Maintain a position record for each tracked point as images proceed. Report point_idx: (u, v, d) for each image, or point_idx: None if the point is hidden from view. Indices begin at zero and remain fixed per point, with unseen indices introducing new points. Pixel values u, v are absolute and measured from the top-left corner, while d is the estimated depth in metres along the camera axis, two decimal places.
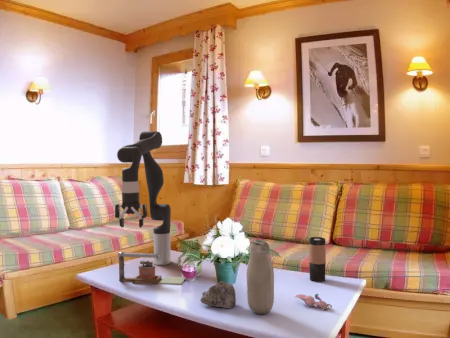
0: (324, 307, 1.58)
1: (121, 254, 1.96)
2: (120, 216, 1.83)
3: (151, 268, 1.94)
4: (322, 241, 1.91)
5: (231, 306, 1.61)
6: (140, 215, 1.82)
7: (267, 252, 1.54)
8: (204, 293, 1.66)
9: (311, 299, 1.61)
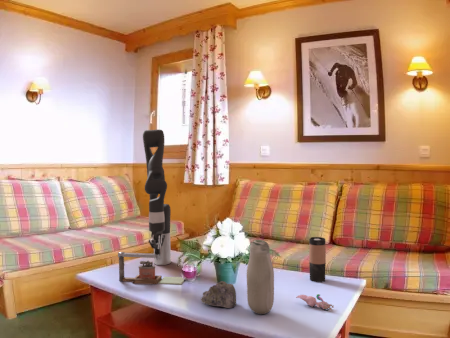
0: (326, 307, 1.57)
1: (121, 254, 1.96)
2: (158, 246, 1.96)
3: (151, 268, 1.94)
4: (322, 241, 1.91)
5: (231, 306, 1.61)
6: (160, 245, 1.98)
7: (267, 252, 1.54)
8: (205, 293, 1.66)
9: (313, 299, 1.61)
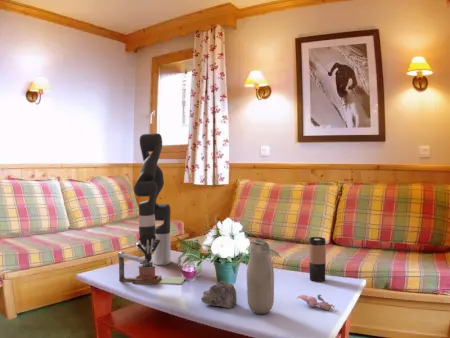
0: (327, 308, 1.57)
1: (119, 254, 1.96)
2: (147, 251, 1.87)
3: (151, 268, 1.94)
4: (322, 241, 1.91)
5: (231, 306, 1.61)
6: (152, 249, 1.88)
7: (267, 252, 1.54)
8: (205, 292, 1.66)
9: (314, 300, 1.61)
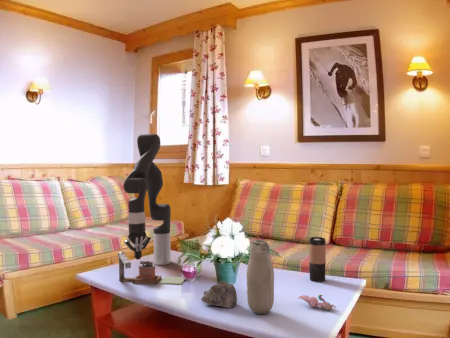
0: (328, 308, 1.57)
1: (118, 254, 1.96)
2: (136, 249, 1.84)
3: (151, 268, 1.94)
4: (322, 241, 1.91)
5: (231, 306, 1.62)
6: (141, 247, 1.86)
7: (267, 252, 1.54)
8: (205, 292, 1.67)
9: (315, 300, 1.60)
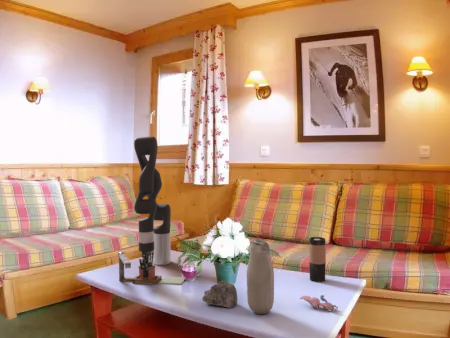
0: (330, 308, 1.56)
1: (118, 254, 1.96)
2: (147, 267, 1.93)
3: (151, 268, 1.94)
4: (322, 241, 1.91)
5: (231, 305, 1.62)
6: None
7: (267, 252, 1.54)
8: (206, 292, 1.67)
9: (317, 301, 1.60)
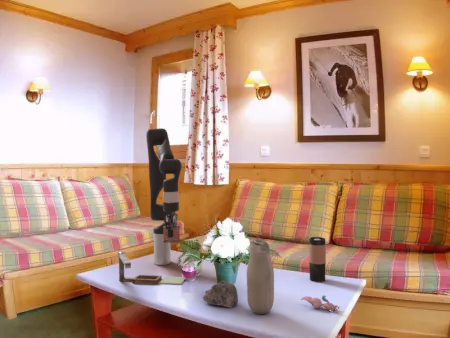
0: (332, 309, 1.56)
1: (118, 254, 1.96)
2: (172, 227, 1.92)
3: (176, 228, 1.93)
4: (322, 241, 1.91)
5: (232, 305, 1.62)
6: None
7: (267, 252, 1.54)
8: (207, 291, 1.68)
9: (318, 301, 1.59)
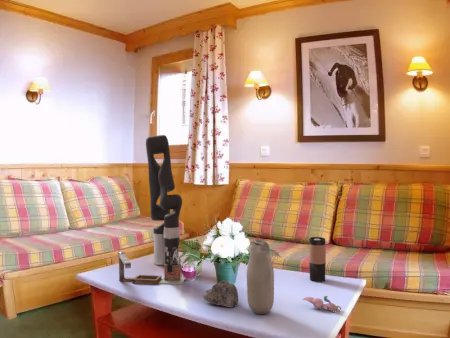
0: (334, 309, 1.56)
1: (118, 254, 1.96)
2: (171, 262, 1.91)
3: (176, 266, 1.94)
4: (322, 241, 1.91)
5: (232, 305, 1.62)
6: (176, 256, 2.00)
7: (267, 252, 1.54)
8: (207, 291, 1.68)
9: (320, 301, 1.59)
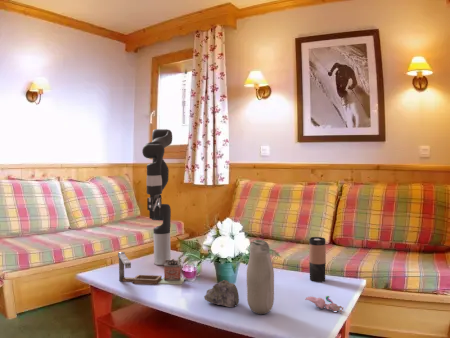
0: (336, 309, 1.55)
1: (118, 254, 1.96)
2: (153, 208, 1.96)
3: (176, 266, 1.94)
4: (322, 241, 1.91)
5: (232, 305, 1.62)
6: (159, 204, 2.06)
7: (267, 252, 1.54)
8: (208, 290, 1.68)
9: (322, 301, 1.59)
